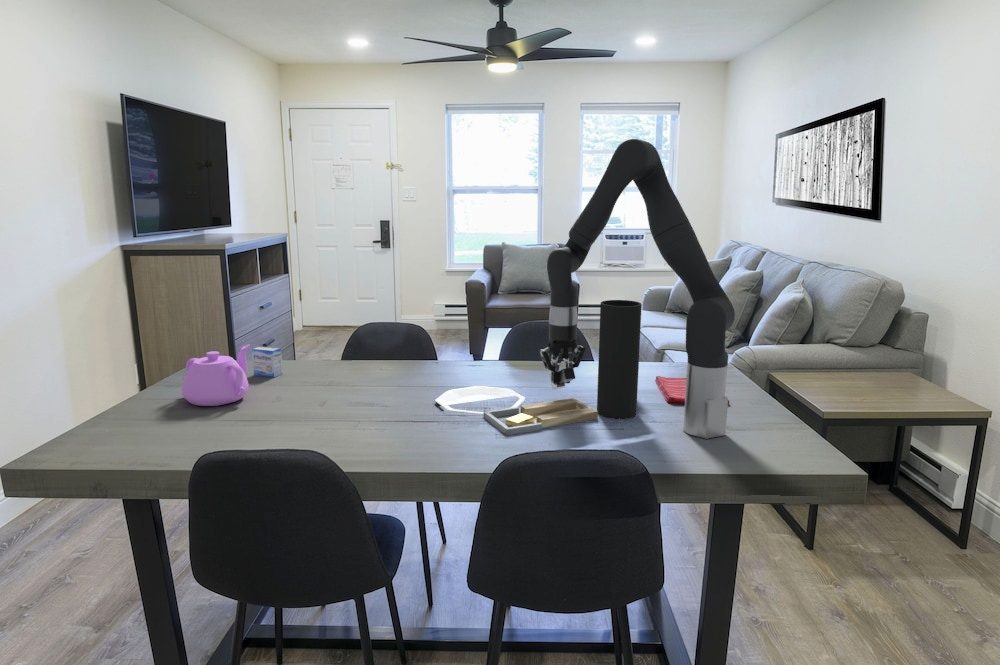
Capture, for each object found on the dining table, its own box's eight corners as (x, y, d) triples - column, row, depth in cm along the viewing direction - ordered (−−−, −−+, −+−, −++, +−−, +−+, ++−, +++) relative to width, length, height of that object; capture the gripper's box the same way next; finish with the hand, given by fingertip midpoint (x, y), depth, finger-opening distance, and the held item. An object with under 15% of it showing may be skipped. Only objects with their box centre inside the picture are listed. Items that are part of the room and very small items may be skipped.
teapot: (280, 392, 192) (277, 346, 189) (221, 414, 173) (216, 363, 170) (225, 383, 201) (221, 339, 198) (162, 403, 182) (157, 354, 179)
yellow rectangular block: (525, 427, 163) (525, 419, 162) (517, 430, 160) (517, 422, 160) (513, 423, 165) (513, 416, 165) (505, 426, 163) (505, 419, 163)
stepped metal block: (561, 388, 184) (576, 381, 177) (551, 389, 183) (566, 382, 175) (557, 372, 186) (572, 364, 178) (548, 374, 184) (562, 365, 176)
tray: (542, 433, 160) (542, 423, 159) (506, 439, 156) (506, 429, 156) (517, 415, 172) (517, 406, 172) (483, 420, 169) (483, 411, 168)
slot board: (597, 422, 167) (598, 411, 167) (542, 431, 161) (542, 419, 160) (573, 408, 178) (573, 397, 178) (520, 416, 172) (520, 405, 171)
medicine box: (253, 375, 210) (251, 349, 208) (262, 372, 214) (260, 346, 212) (274, 377, 207) (272, 350, 205) (283, 373, 211) (281, 347, 210)
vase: (622, 408, 179) (627, 299, 172) (643, 420, 169) (649, 305, 163) (589, 412, 175) (593, 301, 169) (609, 425, 166) (613, 307, 159)
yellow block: (533, 424, 165) (533, 416, 164) (525, 427, 163) (525, 419, 162) (521, 420, 168) (521, 413, 167) (513, 423, 165) (513, 415, 165)
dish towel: (667, 406, 182) (668, 397, 181) (653, 382, 205) (653, 374, 204) (730, 407, 181) (731, 398, 180) (709, 383, 204) (709, 375, 203)
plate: (425, 398, 188) (425, 393, 188) (499, 387, 199) (499, 382, 198) (458, 423, 168) (458, 418, 167) (538, 410, 178) (538, 404, 178)
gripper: (546, 326, 171) (545, 390, 175) (592, 322, 177) (590, 384, 181) (533, 321, 178) (532, 382, 182) (578, 317, 184) (576, 377, 187)
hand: (561, 383), depth 181 cm, fingers closed on stepped metal block, 3 cm apart
